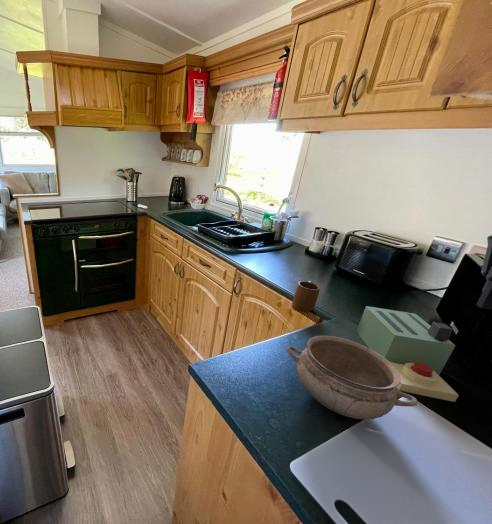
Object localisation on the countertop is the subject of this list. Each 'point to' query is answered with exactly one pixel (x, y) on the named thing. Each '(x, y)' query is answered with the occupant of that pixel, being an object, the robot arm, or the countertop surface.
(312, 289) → the mug
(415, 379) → the box
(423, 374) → the button
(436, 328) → the toaster slider
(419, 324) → the toaster
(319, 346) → the cooking pot
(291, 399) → the countertop surface
